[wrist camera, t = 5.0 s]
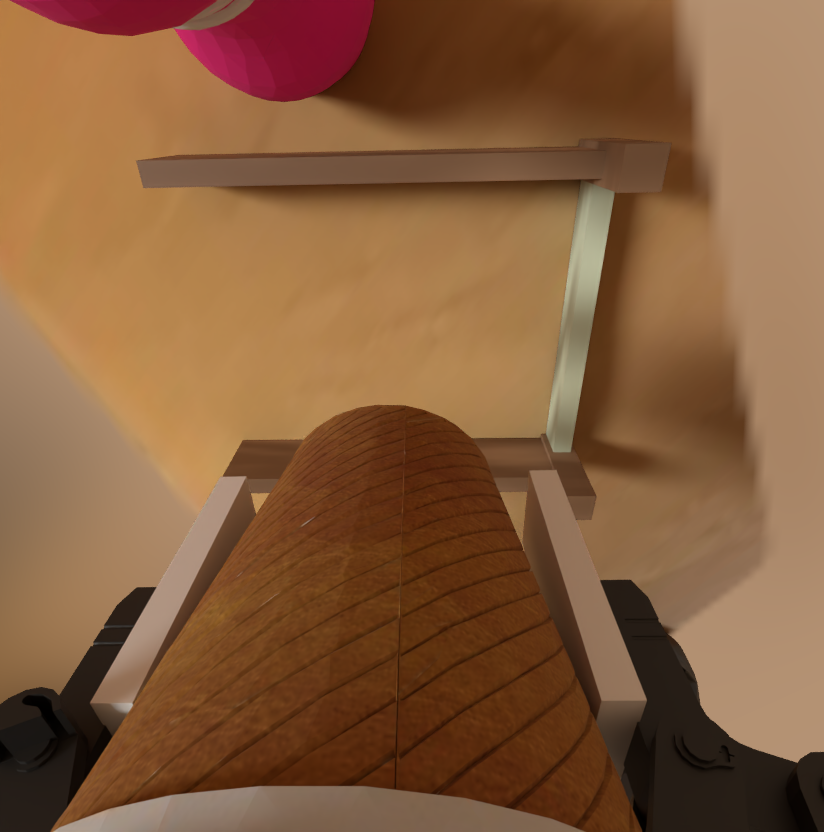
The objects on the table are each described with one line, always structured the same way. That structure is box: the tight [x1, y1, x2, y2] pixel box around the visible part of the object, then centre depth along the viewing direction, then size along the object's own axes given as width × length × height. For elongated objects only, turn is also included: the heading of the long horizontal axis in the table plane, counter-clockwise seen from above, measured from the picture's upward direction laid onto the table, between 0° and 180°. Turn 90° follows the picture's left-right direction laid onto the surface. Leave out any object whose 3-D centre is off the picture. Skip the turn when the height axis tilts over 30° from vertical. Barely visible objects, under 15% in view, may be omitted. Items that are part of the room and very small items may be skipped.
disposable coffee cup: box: [50, 405, 642, 832], centre depth 10 cm, size 10×10×12 cm
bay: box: [136, 138, 672, 520], centre depth 25 cm, size 18×20×6 cm
